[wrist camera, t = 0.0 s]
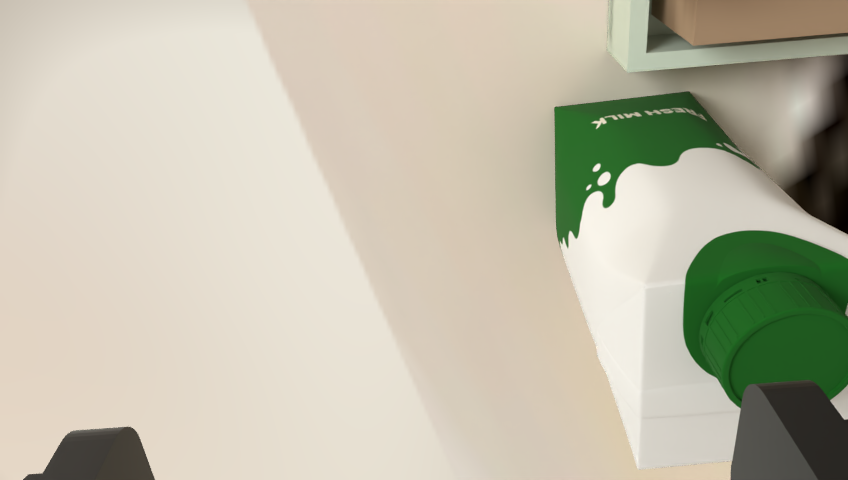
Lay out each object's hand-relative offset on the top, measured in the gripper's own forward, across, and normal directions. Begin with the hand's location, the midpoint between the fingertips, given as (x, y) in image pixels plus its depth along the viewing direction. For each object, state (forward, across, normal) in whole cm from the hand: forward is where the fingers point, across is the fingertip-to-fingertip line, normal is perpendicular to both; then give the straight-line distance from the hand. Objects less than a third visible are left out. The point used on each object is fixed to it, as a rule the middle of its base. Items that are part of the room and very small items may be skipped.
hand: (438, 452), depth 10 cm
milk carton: (+30, -10, +9) cm, 32 cm away
